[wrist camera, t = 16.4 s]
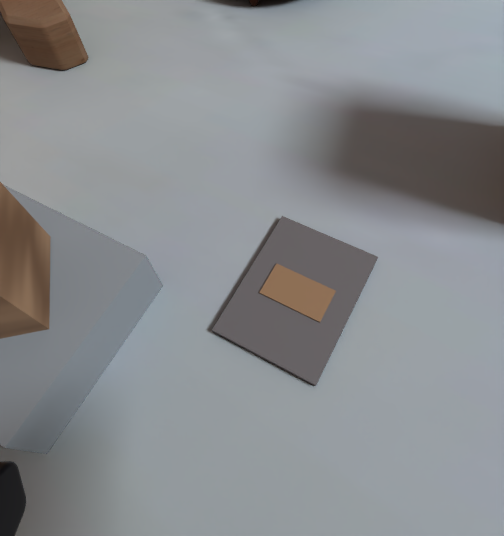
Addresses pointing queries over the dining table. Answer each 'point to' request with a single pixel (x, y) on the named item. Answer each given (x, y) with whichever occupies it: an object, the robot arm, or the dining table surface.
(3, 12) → the wooden block set
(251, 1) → the scroll
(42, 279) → the walnut column
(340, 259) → the card
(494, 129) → the dining table surface
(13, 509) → the robot arm
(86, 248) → the slate block
